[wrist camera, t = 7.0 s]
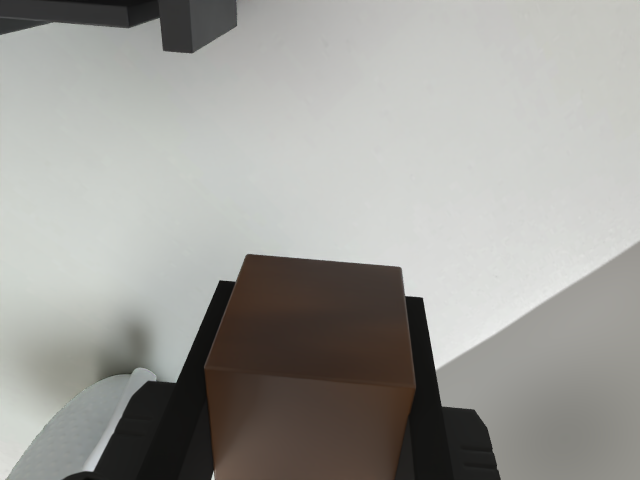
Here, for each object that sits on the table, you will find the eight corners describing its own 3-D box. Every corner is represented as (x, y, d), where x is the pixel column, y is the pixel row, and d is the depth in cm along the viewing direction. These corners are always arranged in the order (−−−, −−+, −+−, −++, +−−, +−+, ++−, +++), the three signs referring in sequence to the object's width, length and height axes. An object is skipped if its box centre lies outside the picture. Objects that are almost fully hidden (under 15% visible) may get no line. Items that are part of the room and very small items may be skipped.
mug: (101, 301, 38) (-10, 451, 27) (233, 356, 40) (181, 517, 28) (63, 413, 45) (-37, 567, 34) (176, 455, 47) (116, 614, 36)
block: (401, 265, 14) (417, 387, 10) (383, 377, 16) (389, 510, 12) (245, 252, 14) (202, 366, 10) (249, 365, 16) (214, 493, 13)
